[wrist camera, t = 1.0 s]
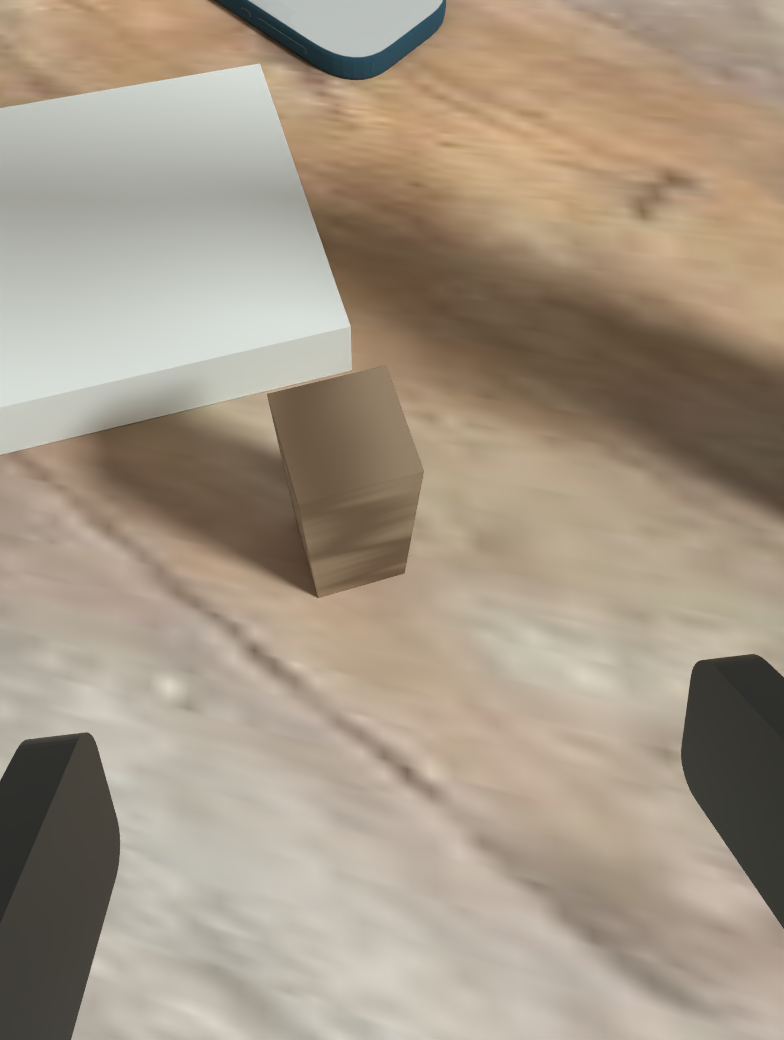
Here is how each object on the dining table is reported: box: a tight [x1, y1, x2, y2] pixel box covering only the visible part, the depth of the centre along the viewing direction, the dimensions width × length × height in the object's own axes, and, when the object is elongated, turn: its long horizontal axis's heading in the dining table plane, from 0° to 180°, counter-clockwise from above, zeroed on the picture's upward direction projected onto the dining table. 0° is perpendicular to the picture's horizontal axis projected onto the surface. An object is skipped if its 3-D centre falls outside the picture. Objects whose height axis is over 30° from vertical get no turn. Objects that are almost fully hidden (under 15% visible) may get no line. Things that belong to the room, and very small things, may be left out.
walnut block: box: [267, 366, 424, 598], centre depth 31 cm, size 4×4×12 cm
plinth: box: [0, 64, 352, 455], centre depth 40 cm, size 20×20×4 cm
